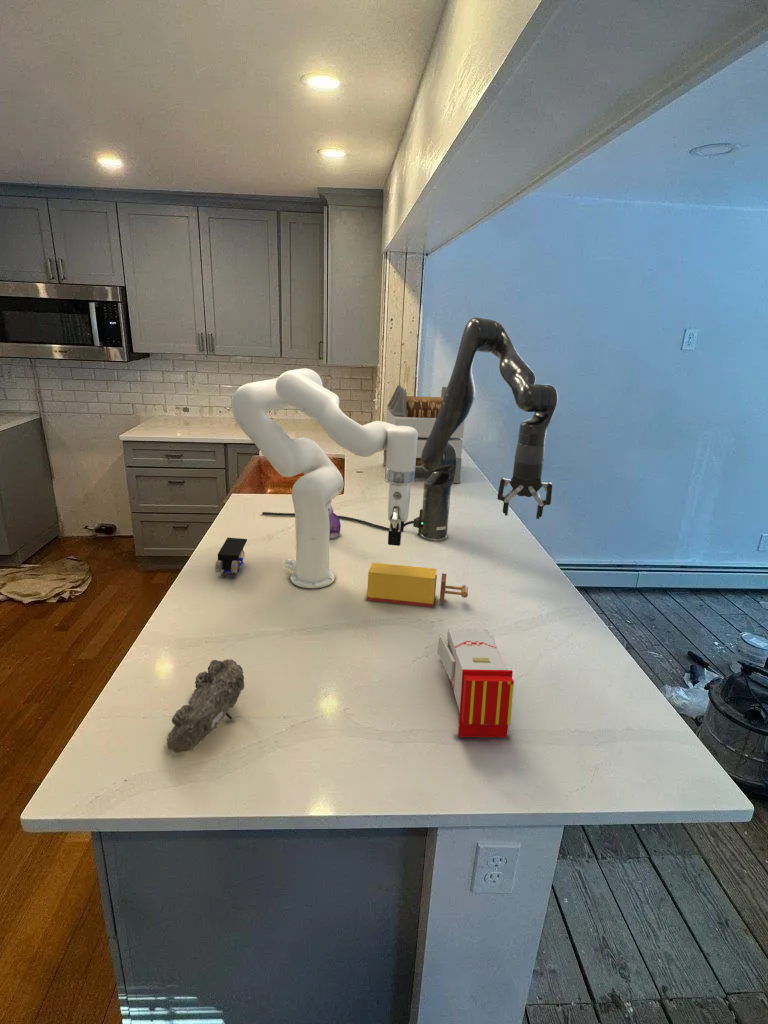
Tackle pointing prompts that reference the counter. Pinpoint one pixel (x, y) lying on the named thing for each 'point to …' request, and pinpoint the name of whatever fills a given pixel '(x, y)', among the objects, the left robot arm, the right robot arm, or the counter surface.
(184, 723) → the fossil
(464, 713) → the toy
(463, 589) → the drawer
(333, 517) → the figurine
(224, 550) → the figurine character
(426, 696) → the counter surface
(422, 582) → the cabinet
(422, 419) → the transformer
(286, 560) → the left robot arm
